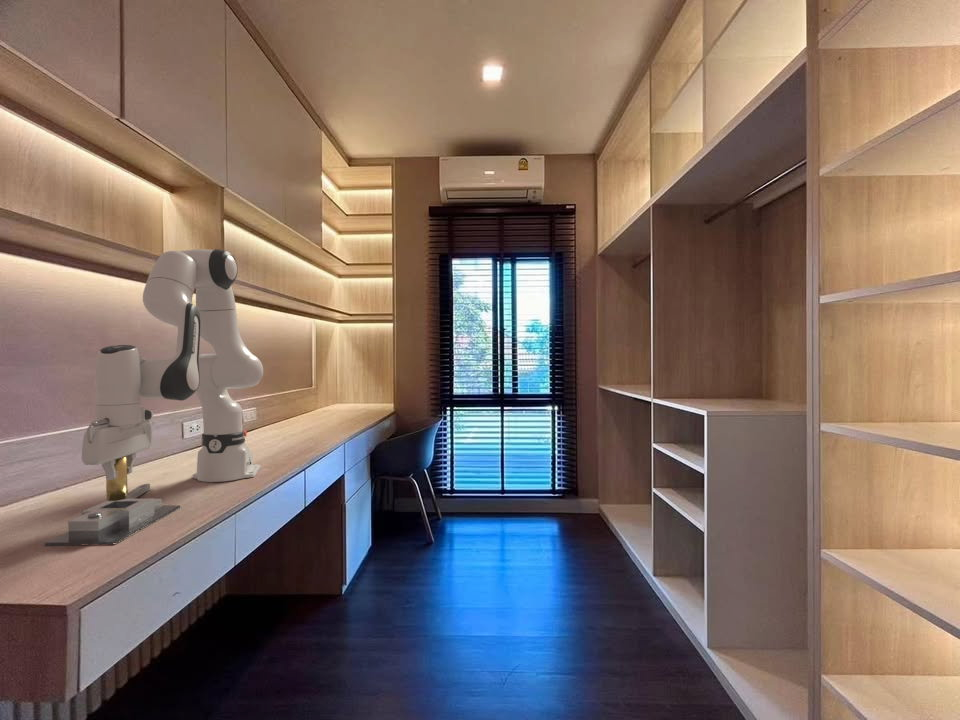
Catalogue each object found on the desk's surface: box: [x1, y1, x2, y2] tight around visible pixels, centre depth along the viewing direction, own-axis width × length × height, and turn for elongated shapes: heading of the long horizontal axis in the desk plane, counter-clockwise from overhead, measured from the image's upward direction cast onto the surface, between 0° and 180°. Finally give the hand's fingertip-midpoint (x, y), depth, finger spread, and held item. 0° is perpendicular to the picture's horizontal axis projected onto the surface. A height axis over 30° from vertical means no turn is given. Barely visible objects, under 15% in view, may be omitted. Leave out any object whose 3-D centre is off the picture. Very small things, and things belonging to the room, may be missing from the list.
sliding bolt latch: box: [44, 497, 181, 547], centre depth 123 cm, size 26×14×5 cm, turn 3°
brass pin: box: [105, 456, 129, 501], centre depth 122 cm, size 4×4×10 cm
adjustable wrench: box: [126, 483, 151, 499], centre depth 142 cm, size 25×6×2 cm, turn 11°
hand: (119, 476), depth 122 cm, fingers closed on brass pin, 4 cm apart
